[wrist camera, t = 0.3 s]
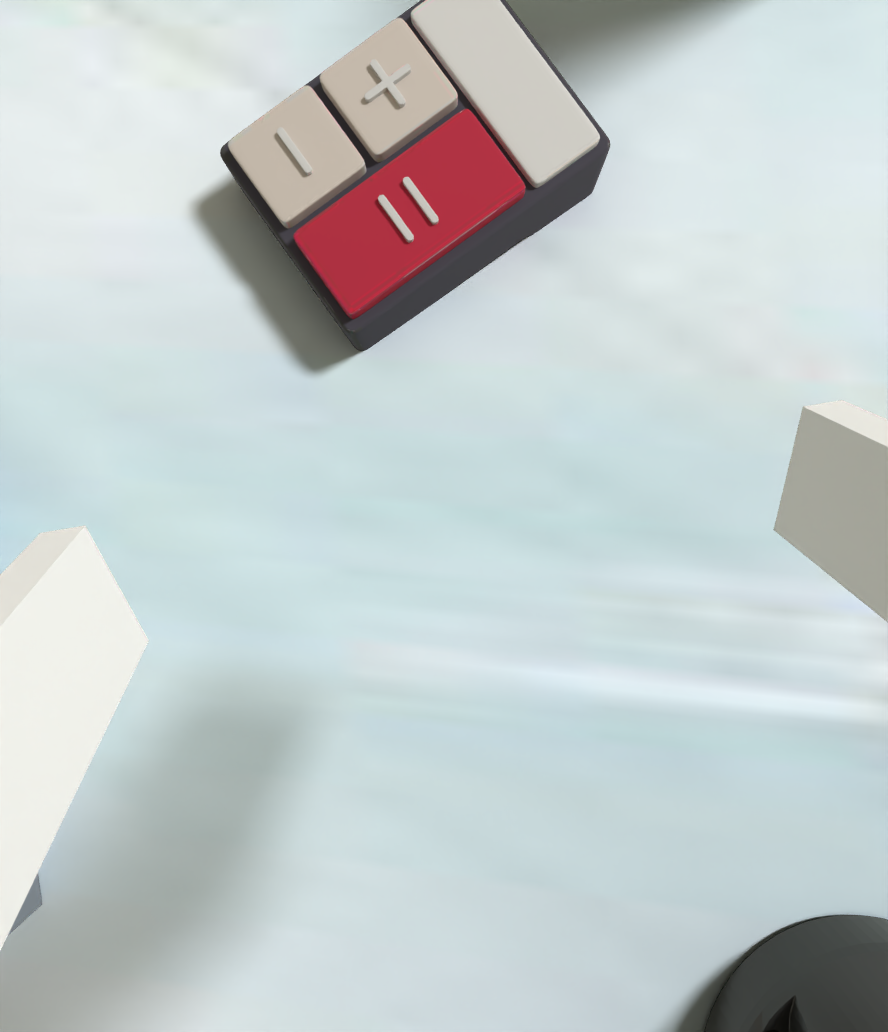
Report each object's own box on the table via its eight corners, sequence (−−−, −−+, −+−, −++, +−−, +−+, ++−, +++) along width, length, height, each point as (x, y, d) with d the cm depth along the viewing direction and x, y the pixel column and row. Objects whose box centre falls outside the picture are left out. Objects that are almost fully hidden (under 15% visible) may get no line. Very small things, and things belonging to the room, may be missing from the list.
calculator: (207, 137, 25) (476, -61, 24) (245, 195, 29) (474, 27, 29) (345, 331, 24) (620, 132, 24) (363, 360, 28) (596, 192, 28)
